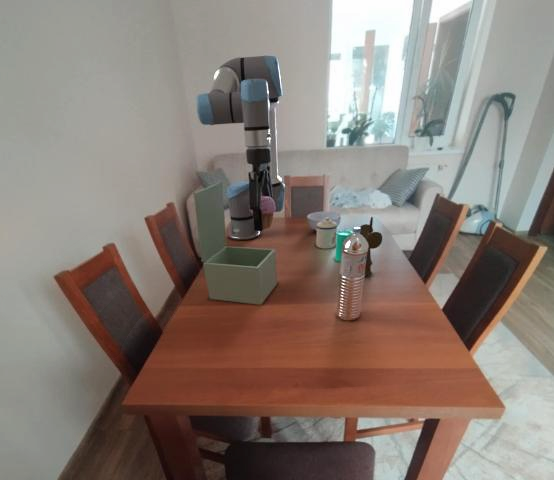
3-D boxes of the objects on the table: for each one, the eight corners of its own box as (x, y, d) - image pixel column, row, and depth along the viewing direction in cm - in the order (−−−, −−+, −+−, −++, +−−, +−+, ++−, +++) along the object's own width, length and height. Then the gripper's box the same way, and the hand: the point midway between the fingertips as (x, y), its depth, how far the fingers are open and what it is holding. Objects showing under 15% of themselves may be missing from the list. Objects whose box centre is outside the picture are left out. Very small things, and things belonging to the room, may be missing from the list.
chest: (277, 283, 118) (275, 249, 110) (261, 304, 106) (258, 267, 98) (230, 279, 123) (225, 246, 115) (209, 299, 111) (202, 263, 103)
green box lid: (222, 182, 102) (220, 181, 103) (196, 193, 90) (193, 192, 90) (226, 245, 115) (224, 244, 115) (203, 262, 103) (201, 261, 103)
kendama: (367, 269, 125) (374, 212, 112) (377, 279, 117) (386, 219, 105) (352, 270, 124) (358, 214, 111) (361, 281, 116) (368, 221, 104)
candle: (351, 257, 135) (354, 226, 127) (347, 262, 131) (350, 231, 123) (337, 255, 137) (339, 225, 129) (333, 260, 133) (335, 229, 125)
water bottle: (345, 323, 94) (354, 233, 79) (331, 313, 99) (337, 227, 84) (364, 317, 97) (376, 228, 81) (350, 308, 101) (359, 222, 86)
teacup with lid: (336, 248, 144) (338, 220, 136) (315, 249, 144) (316, 221, 137) (335, 240, 153) (337, 213, 146) (315, 240, 154) (316, 213, 146)
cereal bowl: (308, 225, 173) (308, 211, 169) (339, 225, 171) (340, 210, 167) (305, 235, 160) (305, 220, 156) (340, 235, 158) (341, 219, 154)
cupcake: (247, 226, 115) (244, 195, 109) (270, 223, 117) (269, 191, 111) (256, 233, 108) (253, 199, 102) (280, 229, 111) (279, 196, 105)
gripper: (257, 151, 89) (263, 236, 103) (280, 143, 106) (283, 218, 120) (232, 151, 91) (241, 235, 105) (258, 144, 108) (263, 218, 122)
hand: (263, 226), depth 112 cm, fingers closed on cupcake, 9 cm apart
